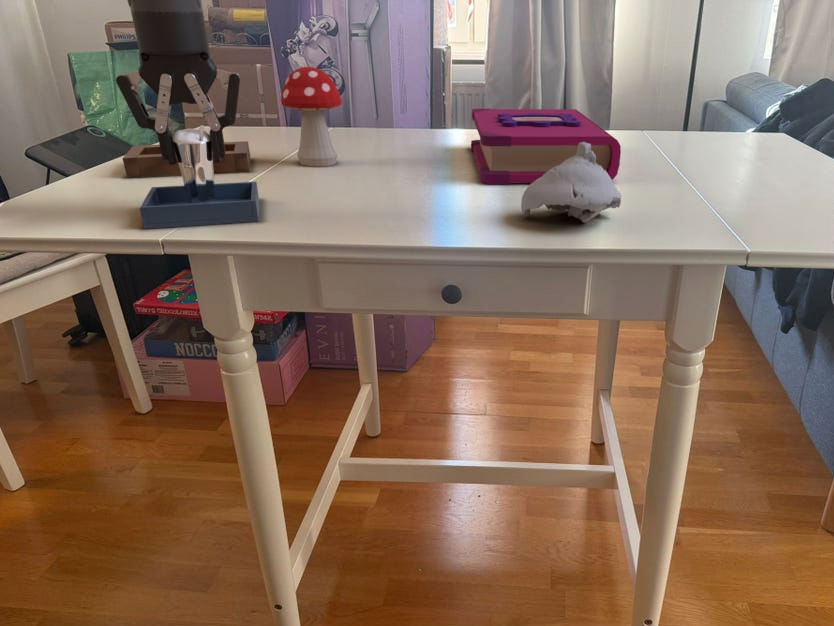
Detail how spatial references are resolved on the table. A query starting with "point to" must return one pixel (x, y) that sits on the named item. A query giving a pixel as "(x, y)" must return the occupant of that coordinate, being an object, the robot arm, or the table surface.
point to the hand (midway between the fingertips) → (195, 161)
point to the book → (536, 143)
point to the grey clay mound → (573, 187)
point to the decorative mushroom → (312, 113)
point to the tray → (200, 206)
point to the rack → (153, 164)
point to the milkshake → (195, 164)
